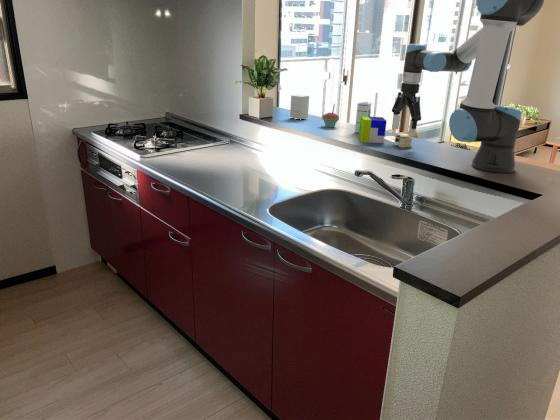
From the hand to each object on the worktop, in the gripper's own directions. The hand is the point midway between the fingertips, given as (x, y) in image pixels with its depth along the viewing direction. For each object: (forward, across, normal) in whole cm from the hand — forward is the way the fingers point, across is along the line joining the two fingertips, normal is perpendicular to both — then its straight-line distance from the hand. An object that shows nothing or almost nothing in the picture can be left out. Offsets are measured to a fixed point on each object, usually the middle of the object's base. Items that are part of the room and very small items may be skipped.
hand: (403, 132), depth 211 cm
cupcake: (+7, -43, -16) cm, 47 cm away
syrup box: (+7, -29, -5) cm, 31 cm away
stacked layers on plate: (+6, +1, 0) cm, 6 cm away
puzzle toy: (+6, -11, -9) cm, 16 cm away
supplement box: (+7, -66, -25) cm, 71 cm away
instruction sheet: (+6, -12, +4) cm, 14 cm away
